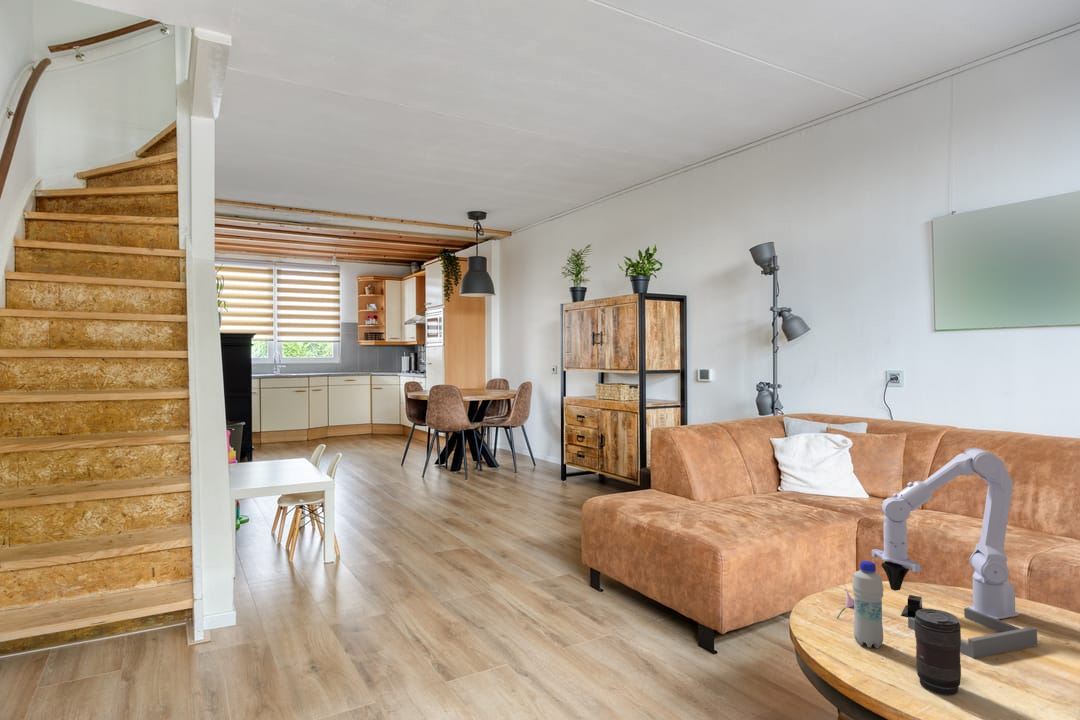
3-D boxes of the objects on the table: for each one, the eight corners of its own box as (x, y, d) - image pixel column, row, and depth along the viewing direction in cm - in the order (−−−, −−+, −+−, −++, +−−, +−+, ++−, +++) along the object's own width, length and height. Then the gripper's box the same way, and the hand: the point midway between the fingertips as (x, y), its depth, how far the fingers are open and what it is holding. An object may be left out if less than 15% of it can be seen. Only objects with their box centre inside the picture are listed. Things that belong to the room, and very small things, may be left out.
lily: (861, 638, 152) (879, 604, 152) (816, 608, 160) (834, 576, 160) (868, 635, 162) (885, 604, 162) (825, 607, 169) (842, 577, 169)
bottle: (883, 640, 148) (881, 558, 148) (885, 652, 142) (884, 567, 142) (852, 635, 151) (851, 555, 151) (853, 647, 145) (852, 563, 145)
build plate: (903, 604, 172) (903, 588, 172) (934, 611, 167) (933, 594, 167) (896, 619, 162) (896, 601, 162) (928, 626, 157) (928, 608, 158)
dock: (967, 616, 161) (967, 601, 161) (1037, 645, 145) (1036, 628, 145) (908, 627, 155) (907, 611, 155) (973, 658, 139) (973, 641, 139)
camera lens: (906, 678, 131) (905, 608, 131) (941, 676, 131) (940, 607, 131) (934, 699, 123) (933, 624, 123) (971, 696, 123) (970, 623, 123)
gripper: (863, 535, 177) (863, 582, 177) (906, 550, 163) (906, 600, 163) (882, 533, 179) (882, 579, 179) (926, 547, 165) (927, 597, 165)
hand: (895, 589), depth 171 cm, fingers closed
